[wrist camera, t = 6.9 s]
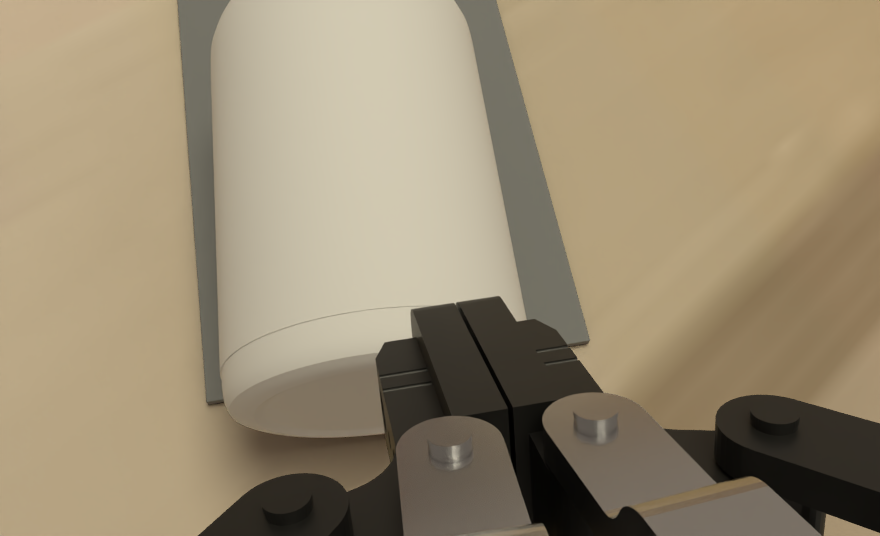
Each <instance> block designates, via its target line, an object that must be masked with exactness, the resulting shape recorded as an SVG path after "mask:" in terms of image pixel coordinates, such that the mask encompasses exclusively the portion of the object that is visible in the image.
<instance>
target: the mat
mask: <svg viewBox="0 0 880 536" xmlns="http://www.w3.org/2000/svg"><path fill="white" fill-rule="evenodd" d="M454 1H455V2H456V4H457V5H458V7H459V9H460V10H461V12H462V13H463V15H464V17H465V19H466V22H467V24H468V27H469V31H470V34H471V39H472V43H473V48H474V53H475V58H476V63H477V68H478V73H479V79H480V84H481V89H482V94H483V99H484V104H485V109H486V114H487V120H488V125H489V130H490V135H491V140H492V145H493V150H494V155H495V160H496V166H497V171H498V176H499V181H500V186H501V191H502V196H503V201H504V207H505V212H506V217H507V222H508V227H509V232H510V237H511V242H512V247H513V253H514V258H515V263H516V268H517V273H518V278H519V283H520V288H521V294H522V299H523V304H524V309H525V314H526V319H527V320H530V319H536V320H538V321H540V322H542V323H544V324H546V325H548V326H550V327H552V328H554V329H556V330H557V331H558V333H559V334H560V335H561V337H562V338H563V339H564V341H565V342H566V343H567V345H568V347H569V346H575V345H581V344H587V343H588V342H589V341H590V339H589V335H588V331H587V328H586V324H585V321H584V317H583V313H582V310H581V306H580V302H579V299H578V295H577V292H576V288H575V284H574V281H573V277H572V273H571V270H570V266H569V263H568V259H567V255H566V252H565V248H564V245H563V241H562V237H561V234H560V230H559V226H558V223H557V219H556V216H555V212H554V208H553V205H552V201H551V198H550V194H549V190H548V187H547V183H546V179H545V176H544V172H543V169H542V165H541V161H540V158H539V154H538V150H537V147H536V143H535V140H534V136H533V132H532V129H531V125H530V122H529V118H528V114H527V111H526V107H525V103H524V100H523V96H522V93H521V89H520V85H519V82H518V78H517V74H516V71H515V67H514V64H513V60H512V56H511V53H510V49H509V46H508V42H507V38H506V35H505V31H504V27H503V24H502V20H501V17H500V13H499V9H498V6H497V2H496V0H454ZM229 2H230V0H178V13H179V27H180V40H181V54H182V68H183V82H184V96H185V110H186V124H187V138H188V152H189V165H190V179H191V193H192V207H193V221H194V235H195V249H196V263H197V276H198V290H199V304H200V318H201V332H202V346H203V360H204V374H205V388H206V401H207V403H208V405H209V404H215V403H221V402H224V399H223V392H222V380H221V378H220V360H219V327H218V295H217V262H216V229H215V197H214V164H213V131H212V99H211V45H212V40H213V36H214V33H215V30H216V28H217V25H218V22H219V20H220V18H221V15H222V13H223V12H224V10H225V8H226V6H227V5H228V3H229Z"/></svg>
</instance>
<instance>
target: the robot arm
mask: <svg viewBox="0 0 880 536" xmlns="http://www.w3.org/2000/svg"><path fill="white" fill-rule="evenodd" d="M410 316H411V329H412V338H409V339H402V340H396V341H389V342H385V343H384V344H383V346H382V348H381V350H380V351H379V353H378V355H377V357H376V358H375V360H376V368H377V376H378V384H379V392H380V400H381V408H382V416H383V424H384V432H385V439H386V444H387V448H388V453H389V457H390V462H391V463H390V465H389V466H388V467H387V468H386V470H385V471H384V472H383V473H381V474H380V475H379V476H378V477H376V478H375V479H373V480H372V481H370V482H368V483H367V484H365V485H363V486H360V487H358V488H356V489H354V490H351V491H349V492H346V490H345V489H344V488H343V486H342V485H341V484H339V483H338V482H337V481H335V480H333V479H331V478H329V477H326V476H323V475H318V474H308V473H303V474H291V475H285V476H281V477H277V478H274V479H271V480H269V481H266V482H264V483H262V484H260V485H258V486H256V487H254V488H253V489H251V490H250V491H248V492H247V493H246V494H245V495H243V496H242V497H241V498H240V499H239V500H238V501H236V502H235V503H234V504H233V505H232V506H231V507H230V508H229V509H227V510H226V511H225V512H224V513H223V514H222V515H221V516H220V517H218V518H217V519H216V520H215V521H214V522H213V523H212V524H211V525H209V526H208V527H207V528H206V529H205V530H204V531H203V532H202V533H200V534H199V535H198V536H824V527H825V518H826V514H829V515H832V516H835V517H837V518H840V519H843V520H846V521H848V522H851V523H854V524H857V525H859V526H862V527H865V528H868V529H871V530H873V531H876V532H879V533H880V424H879V423H876V422H872V421H869V420H865V419H862V418H858V417H855V416H851V415H847V414H844V413H840V412H837V411H833V410H830V409H826V408H823V407H819V406H816V405H812V404H808V403H805V402H801V401H798V400H794V399H790V398H786V397H780V396H773V395H750V396H744V397H739V398H736V399H733V400H730V401H728V402H727V403H725V404H724V405H722V406H721V407H720V408H719V410H718V411H717V414H716V422H715V431H705V430H672V429H663V428H662V427H661V426H660V425H659V424H658V423H657V422H656V421H655V420H654V419H653V418H652V417H651V416H650V415H649V414H648V413H647V412H646V411H645V410H644V409H643V408H642V407H641V406H640V405H639V404H637V403H635V402H634V401H632V400H629V399H627V398H624V397H621V396H618V395H613V394H608V393H603V391H602V390H601V389H600V387H599V386H598V385H597V383H596V382H595V381H594V379H593V378H592V377H591V375H590V374H589V373H588V371H587V370H586V369H585V367H584V366H583V365H582V363H581V362H580V361H579V360H578V361H577V357H576V355H575V354H574V353H573V351H572V350H571V349H570V348H568V345H567V343H566V342H565V341H564V339H563V338H562V337H561V335H560V334H559V333H558V331H557V330H556V329H554V328H552V327H550V326H548V325H546V324H544V323H542V322H540V321H538V320H536V319H530V320H524V321H516V320H515V318H514V317H513V315H512V314H511V312H510V310H509V309H508V307H507V306H506V304H505V303H504V301H503V300H502V298H501V297H500V296H494V297H488V298H481V299H474V300H468V301H461V302H456V305H455V303H449V304H442V305H435V306H429V307H422V308H415V309H411V312H410Z"/></svg>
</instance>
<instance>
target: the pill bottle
mask: <svg viewBox="0 0 880 536" xmlns="http://www.w3.org/2000/svg"><path fill="white" fill-rule="evenodd" d="M211 99H212V131H213V164H214V197H215V229H216V262H217V295H218V327H219V360H220V378H221V380H222V392H223V399H224V403H225V406H226V409H227V411H228V413H229V414H230V416H231V417H232V418H233V419H234V420H235V421H236V422H238V423H239V424H241V425H243V426H246V427H248V428H251V429H255V430H258V431H262V432H266V433H271V434H277V435H284V436H293V437H309V438H336V437H355V436H367V435H377V434H385V432H384V424H383V416H382V408H381V400H380V392H379V384H378V376H377V368H376V360H375V358H376V357H377V355H378V353H379V351H380V350H381V348H382V346H383V344H384V343H385V342H389V341H396V340H402V339H409V338H412V329H411V316H410V312H411V309H415V308H422V307H429V306H435V305H442V304H449V303H455V305H456V302H461V301H468V300H474V299H481V298H488V297H494V296H500V297H501V298H502V300H503V301H504V303H505V304H506V306H507V307H508V309H509V310H510V312H511V314H512V315H513V317H514V318H515V320H516V321H524V320H527V319H526V314H525V309H524V304H523V299H522V294H521V288H520V283H519V278H518V273H517V268H516V263H515V258H514V253H513V247H512V242H511V237H510V232H509V227H508V222H507V217H506V212H505V207H504V201H503V196H502V191H501V186H500V181H499V176H498V171H497V166H496V160H495V155H494V150H493V145H492V140H491V135H490V130H489V125H488V120H487V114H486V109H485V104H484V99H483V94H482V89H481V84H480V79H479V73H478V68H477V63H476V58H475V53H474V48H473V43H472V39H471V34H470V31H469V27H468V24H467V22H466V19H465V17H464V15H463V13H462V12H461V10H460V9H459V7H458V5H457V4H456V2H455V1H454V0H230V2H229V3H228V5H227V6H226V8H225V10H224V12H223V13H222V15H221V18H220V20H219V22H218V25H217V28H216V30H215V33H214V36H213V40H212V45H211Z"/></svg>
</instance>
